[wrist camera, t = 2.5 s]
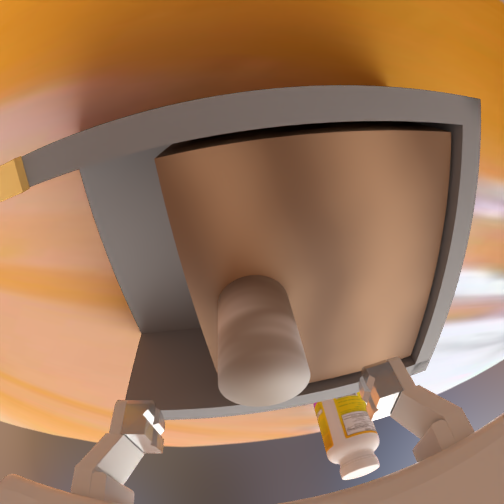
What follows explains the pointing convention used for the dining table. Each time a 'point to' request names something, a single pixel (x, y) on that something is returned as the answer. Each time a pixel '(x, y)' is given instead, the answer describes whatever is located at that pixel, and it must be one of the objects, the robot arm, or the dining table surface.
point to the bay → (163, 244)
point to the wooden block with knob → (307, 246)
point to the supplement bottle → (348, 435)
